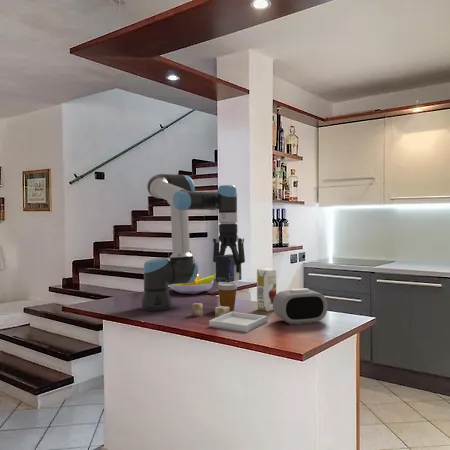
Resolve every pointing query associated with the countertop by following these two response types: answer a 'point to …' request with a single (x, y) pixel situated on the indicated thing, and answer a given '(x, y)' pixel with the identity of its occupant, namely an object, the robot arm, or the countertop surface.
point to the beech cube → (221, 311)
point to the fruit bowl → (194, 285)
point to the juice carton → (266, 288)
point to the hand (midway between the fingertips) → (229, 280)
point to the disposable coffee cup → (227, 294)
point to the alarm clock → (300, 306)
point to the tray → (238, 321)
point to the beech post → (197, 309)
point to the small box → (225, 268)
